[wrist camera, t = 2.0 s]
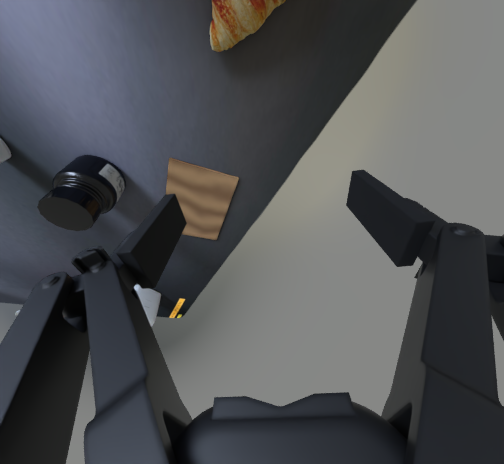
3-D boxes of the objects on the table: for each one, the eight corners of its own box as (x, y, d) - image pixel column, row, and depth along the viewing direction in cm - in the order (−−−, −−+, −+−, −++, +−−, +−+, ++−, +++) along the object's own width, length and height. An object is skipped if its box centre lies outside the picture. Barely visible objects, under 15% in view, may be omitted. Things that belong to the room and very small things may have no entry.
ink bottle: (125, 201, 43) (102, 241, 34) (76, 188, 39) (36, 229, 31) (127, 162, 37) (99, 199, 28) (69, 143, 33) (18, 178, 25)
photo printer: (163, 293, 71) (155, 328, 63) (155, 297, 73) (146, 332, 64) (139, 282, 65) (126, 319, 56) (130, 286, 66) (116, 324, 57)
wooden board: (169, 157, 37) (169, 158, 37) (238, 177, 41) (238, 178, 41) (162, 229, 50) (162, 230, 49) (216, 239, 54) (216, 240, 54)
